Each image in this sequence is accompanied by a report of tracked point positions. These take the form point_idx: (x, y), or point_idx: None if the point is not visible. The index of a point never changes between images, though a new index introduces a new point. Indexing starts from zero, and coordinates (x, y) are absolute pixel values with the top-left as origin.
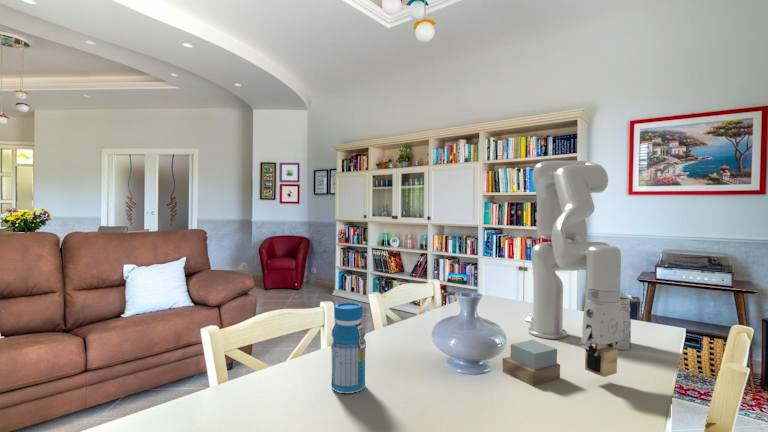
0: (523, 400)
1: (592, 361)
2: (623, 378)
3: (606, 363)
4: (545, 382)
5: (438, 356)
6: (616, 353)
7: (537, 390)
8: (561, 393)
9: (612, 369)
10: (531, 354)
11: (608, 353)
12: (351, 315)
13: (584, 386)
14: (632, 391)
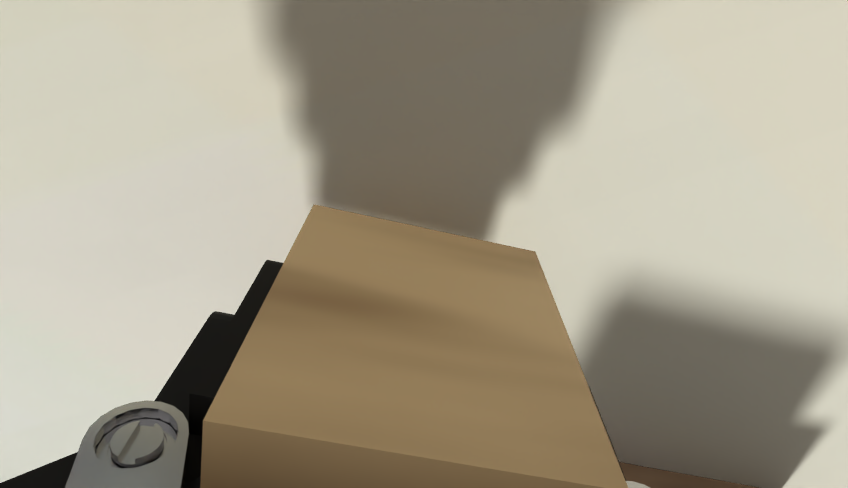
0: None
1: None
2: (127, 165)
3: (526, 334)
4: (671, 472)
5: None
6: (259, 360)
7: (829, 459)
8: (796, 365)
9: (387, 248)
10: None
11: (510, 439)
12: None
13: (561, 311)
14: (358, 3)
